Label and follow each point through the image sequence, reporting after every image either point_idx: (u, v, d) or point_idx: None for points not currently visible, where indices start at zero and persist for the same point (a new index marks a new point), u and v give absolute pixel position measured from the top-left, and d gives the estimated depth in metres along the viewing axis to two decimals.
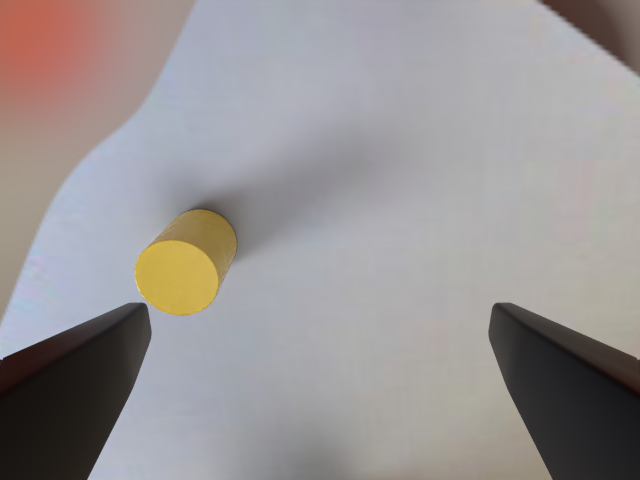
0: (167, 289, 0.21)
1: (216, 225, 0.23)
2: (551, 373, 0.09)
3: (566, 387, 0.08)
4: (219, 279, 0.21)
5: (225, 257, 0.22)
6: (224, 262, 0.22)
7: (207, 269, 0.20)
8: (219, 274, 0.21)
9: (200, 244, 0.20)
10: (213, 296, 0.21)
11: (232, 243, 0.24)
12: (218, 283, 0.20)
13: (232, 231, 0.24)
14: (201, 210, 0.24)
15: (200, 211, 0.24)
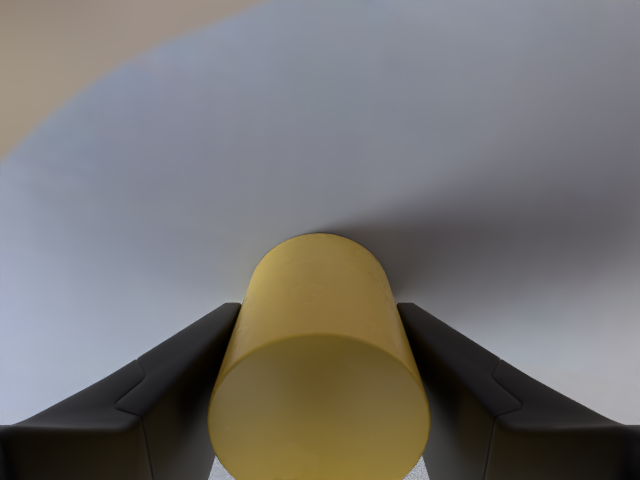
0: (283, 447, 0.08)
1: (387, 287, 0.10)
2: (426, 373, 0.09)
3: (435, 387, 0.08)
4: None
5: None
6: None
7: (408, 426, 0.08)
8: None
9: (408, 359, 0.08)
10: None
11: None
12: (416, 460, 0.08)
13: None
14: (346, 240, 0.11)
15: (345, 241, 0.11)
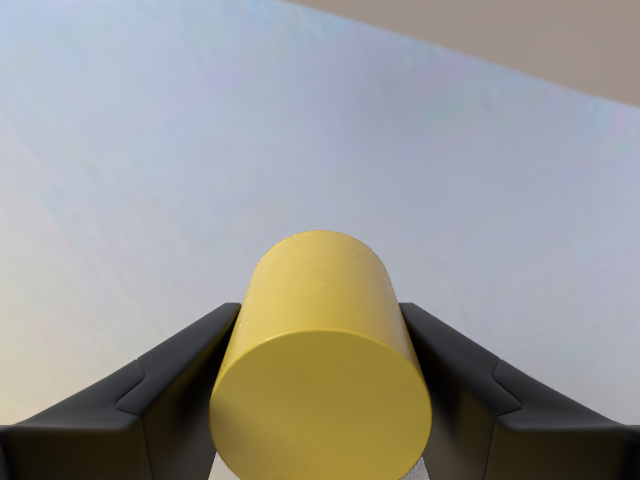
0: (285, 444, 0.08)
1: (389, 285, 0.10)
2: (426, 373, 0.09)
3: (435, 387, 0.08)
4: None
5: None
6: None
7: (410, 422, 0.08)
8: None
9: (411, 355, 0.07)
10: None
11: None
12: (418, 456, 0.08)
13: None
14: (347, 237, 0.11)
15: (346, 238, 0.11)
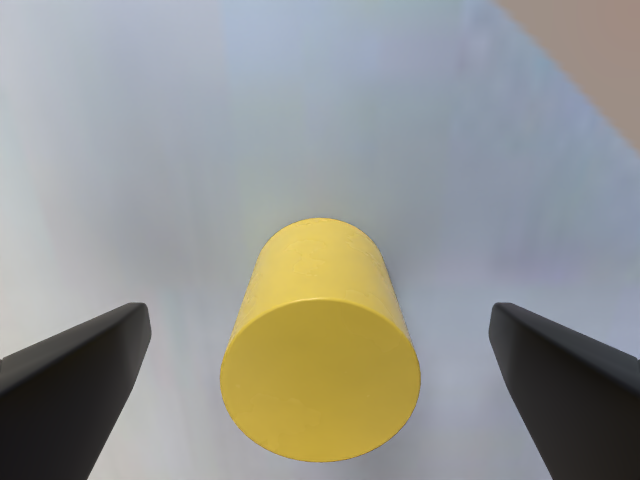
0: (288, 404, 0.09)
1: (383, 267, 0.11)
2: (551, 373, 0.09)
3: (566, 387, 0.08)
4: None
5: None
6: None
7: (400, 384, 0.08)
8: None
9: (400, 324, 0.08)
10: (384, 439, 0.09)
11: None
12: (408, 416, 0.09)
13: None
14: (345, 224, 0.12)
15: (344, 225, 0.12)
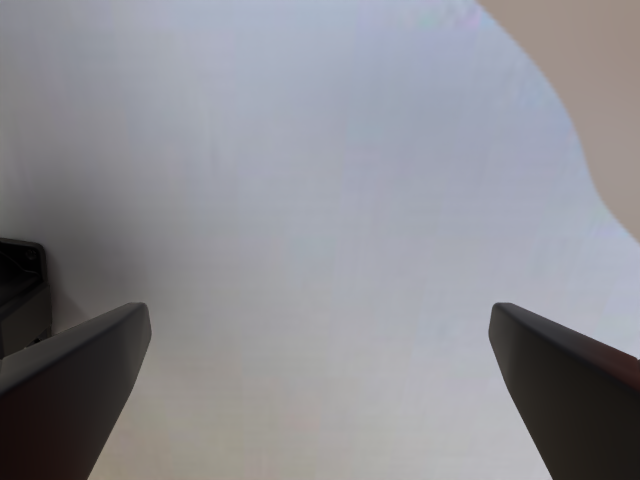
0: None
1: None
2: (551, 373, 0.09)
3: (566, 387, 0.08)
4: None
5: None
6: None
7: None
8: None
9: None
10: None
11: None
12: None
13: None
14: None
15: None
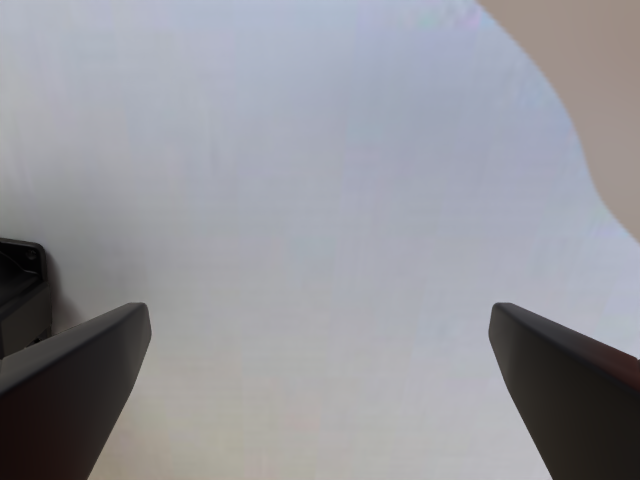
0: None
1: None
2: (551, 373, 0.09)
3: (566, 387, 0.08)
4: None
5: None
6: None
7: None
8: None
9: None
10: None
11: None
12: None
13: None
14: None
15: None
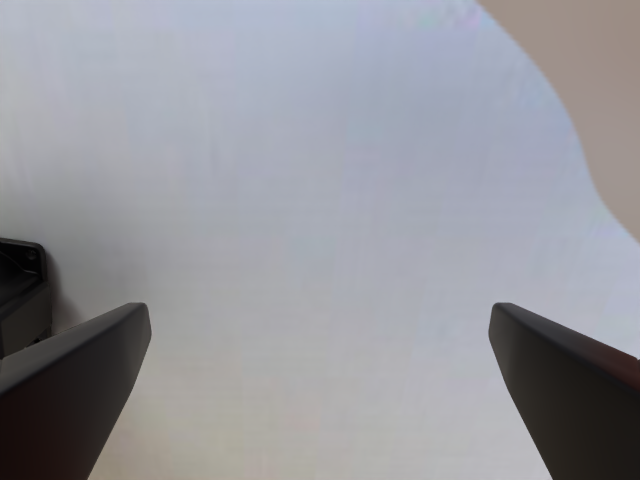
0: None
1: None
2: (551, 373, 0.09)
3: (566, 387, 0.08)
4: None
5: None
6: None
7: None
8: None
9: None
10: None
11: None
12: None
13: None
14: None
15: None
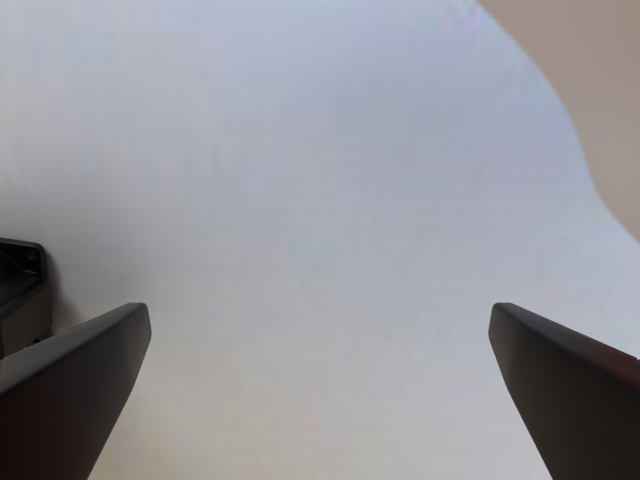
0: None
1: None
2: (551, 373, 0.09)
3: (566, 387, 0.08)
4: None
5: None
6: None
7: None
8: None
9: None
10: None
11: None
12: None
13: None
14: None
15: None
